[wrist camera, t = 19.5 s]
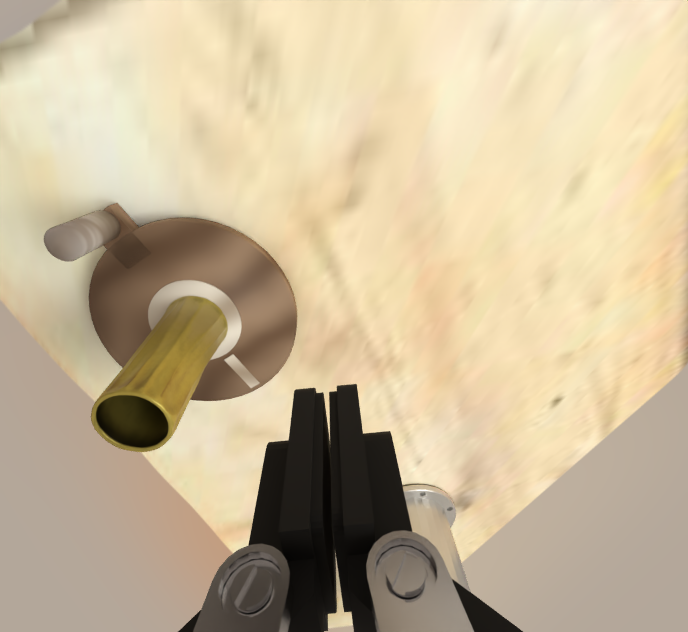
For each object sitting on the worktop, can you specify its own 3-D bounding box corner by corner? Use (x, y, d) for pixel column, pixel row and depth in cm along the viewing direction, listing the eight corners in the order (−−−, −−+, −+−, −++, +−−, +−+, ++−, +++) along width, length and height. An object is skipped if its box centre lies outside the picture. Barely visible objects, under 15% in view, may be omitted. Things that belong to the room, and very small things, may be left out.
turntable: (336, 317, 40) (339, 356, 33) (214, 420, 45) (196, 470, 39) (154, 145, 32) (109, 150, 25) (32, 295, 37) (-32, 332, 31)
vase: (201, 359, 40) (143, 470, 27) (152, 321, 37) (63, 422, 25) (240, 324, 38) (199, 424, 25) (191, 282, 36) (118, 369, 23)
